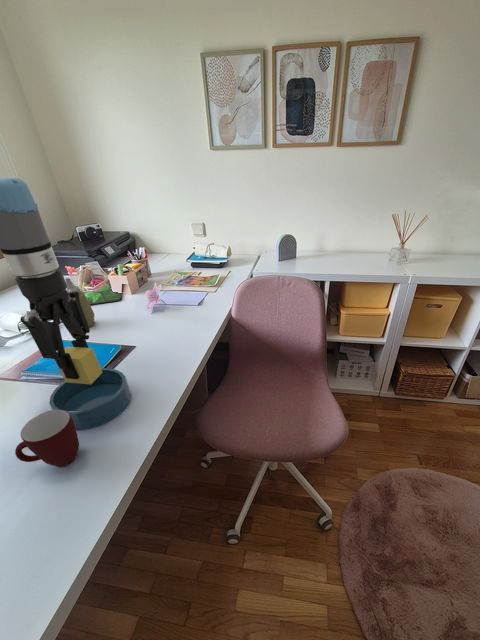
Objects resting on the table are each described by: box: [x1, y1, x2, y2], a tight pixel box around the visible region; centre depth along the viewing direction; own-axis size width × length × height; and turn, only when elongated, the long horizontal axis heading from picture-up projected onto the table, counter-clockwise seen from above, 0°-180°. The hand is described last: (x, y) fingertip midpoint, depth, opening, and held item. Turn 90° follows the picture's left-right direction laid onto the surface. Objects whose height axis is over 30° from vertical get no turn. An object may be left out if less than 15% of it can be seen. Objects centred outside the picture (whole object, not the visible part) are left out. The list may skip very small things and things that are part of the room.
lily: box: [145, 282, 167, 314], centre depth 120 cm, size 12×12×10 cm
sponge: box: [53, 346, 103, 384], centre depth 68 cm, size 6×4×7 cm
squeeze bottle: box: [64, 277, 95, 328], centre depth 106 cm, size 8×8×18 cm
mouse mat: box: [80, 284, 123, 306], centre depth 136 cm, size 27×22×1 cm
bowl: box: [48, 367, 132, 431], centre depth 74 cm, size 17×17×5 cm
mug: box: [14, 409, 80, 468], centre depth 58 cm, size 11×8×10 cm
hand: (80, 370), depth 69 cm, fingers closed on sponge, 4 cm apart
